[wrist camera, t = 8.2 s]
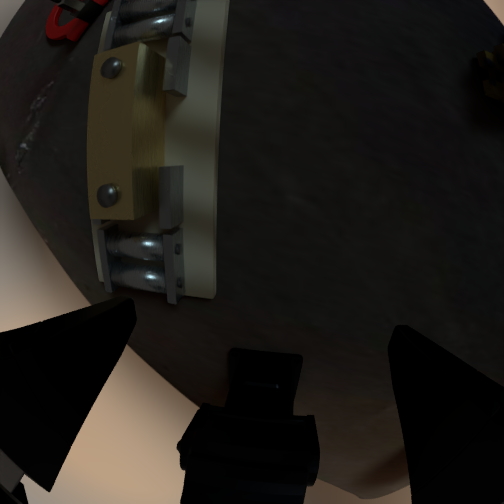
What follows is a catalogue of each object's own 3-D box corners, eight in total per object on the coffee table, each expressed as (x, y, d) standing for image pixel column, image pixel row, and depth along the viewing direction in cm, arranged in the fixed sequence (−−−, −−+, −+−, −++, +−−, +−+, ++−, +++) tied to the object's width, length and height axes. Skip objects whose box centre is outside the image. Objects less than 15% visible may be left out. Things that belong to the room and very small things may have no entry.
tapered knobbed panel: (165, 206, 19) (130, 221, 15) (125, 205, 20) (86, 220, 15) (169, 61, 16) (136, 39, 11) (128, 69, 16) (91, 53, 11)
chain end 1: (125, 8, 14) (111, -1, 12) (200, -9, 13) (191, -23, 11) (109, 106, 17) (91, 103, 15) (188, 96, 16) (175, 89, 14)
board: (216, 293, 22) (213, 298, 21) (105, 276, 23) (99, 281, 22) (230, -9, 14) (227, -15, 13) (112, 16, 15) (106, 12, 14)
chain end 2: (187, 292, 21) (176, 306, 19) (116, 281, 22) (102, 292, 20) (184, 165, 18) (171, 166, 16) (107, 167, 19) (89, 170, 17)
